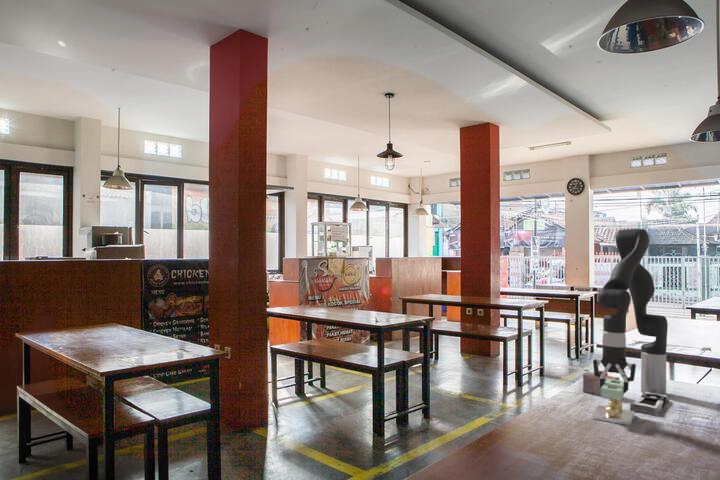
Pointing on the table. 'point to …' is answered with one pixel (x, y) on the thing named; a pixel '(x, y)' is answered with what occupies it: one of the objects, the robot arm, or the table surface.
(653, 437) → the table surface
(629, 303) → the robot arm
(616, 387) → the board
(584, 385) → the food item
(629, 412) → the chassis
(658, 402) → the graphics card
